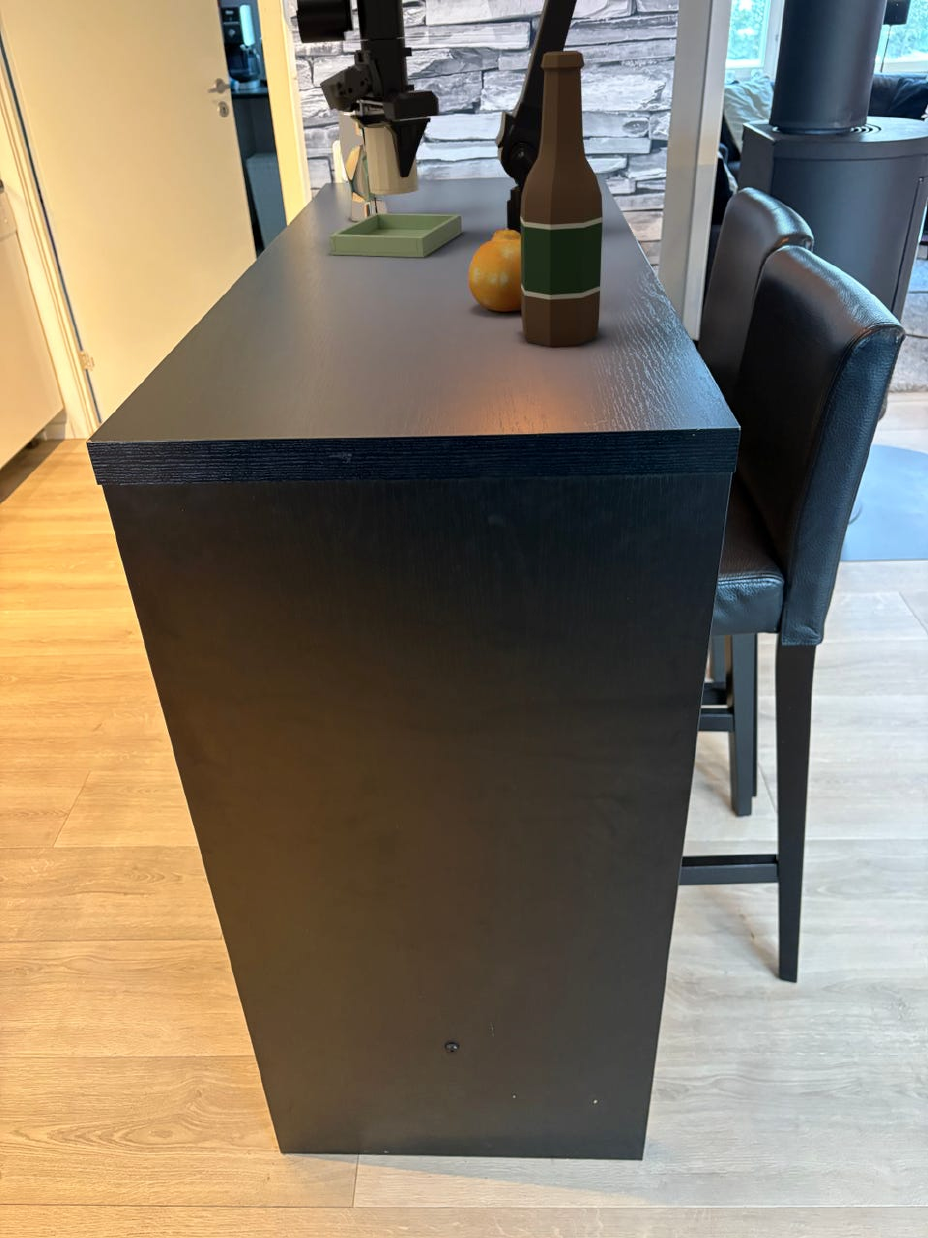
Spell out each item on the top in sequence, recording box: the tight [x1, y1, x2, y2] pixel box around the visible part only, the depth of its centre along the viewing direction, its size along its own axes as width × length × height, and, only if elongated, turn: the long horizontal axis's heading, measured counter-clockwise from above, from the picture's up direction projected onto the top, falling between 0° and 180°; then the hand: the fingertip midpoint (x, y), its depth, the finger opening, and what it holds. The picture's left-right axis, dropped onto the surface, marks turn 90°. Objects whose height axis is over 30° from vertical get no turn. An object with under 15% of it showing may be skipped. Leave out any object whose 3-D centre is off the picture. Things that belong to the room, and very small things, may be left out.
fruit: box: [468, 227, 522, 313], centre depth 99 cm, size 8×8×8 cm
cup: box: [364, 123, 419, 196], centre depth 125 cm, size 7×7×8 cm
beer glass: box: [337, 110, 390, 223], centre depth 144 cm, size 7×7×15 cm
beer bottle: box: [520, 50, 604, 348], centre depth 85 cm, size 8×8×24 cm
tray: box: [328, 213, 463, 259], centre depth 131 cm, size 14×16×2 cm
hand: (393, 174), depth 126 cm, fingers closed on cup, 6 cm apart
